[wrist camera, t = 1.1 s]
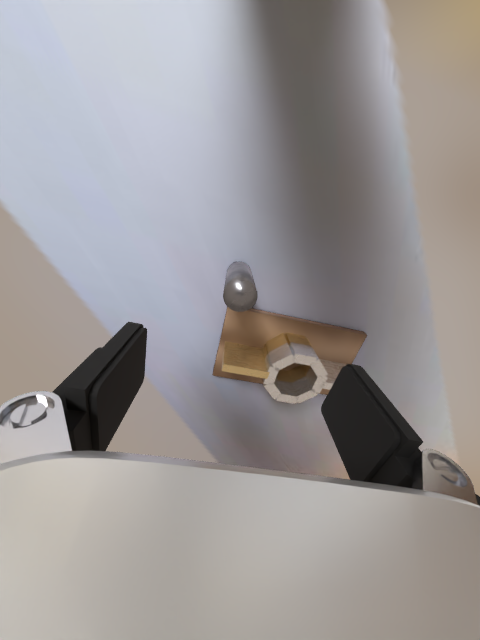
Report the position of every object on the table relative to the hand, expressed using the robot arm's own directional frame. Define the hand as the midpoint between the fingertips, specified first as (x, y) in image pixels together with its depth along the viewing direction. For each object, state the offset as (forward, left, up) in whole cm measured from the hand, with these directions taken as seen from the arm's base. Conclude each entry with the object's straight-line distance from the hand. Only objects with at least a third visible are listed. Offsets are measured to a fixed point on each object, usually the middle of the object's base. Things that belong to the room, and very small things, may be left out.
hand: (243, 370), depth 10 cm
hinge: (+9, +9, -17) cm, 22 cm away
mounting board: (+9, +9, -18) cm, 22 cm away
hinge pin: (0, 0, -18) cm, 18 cm away
